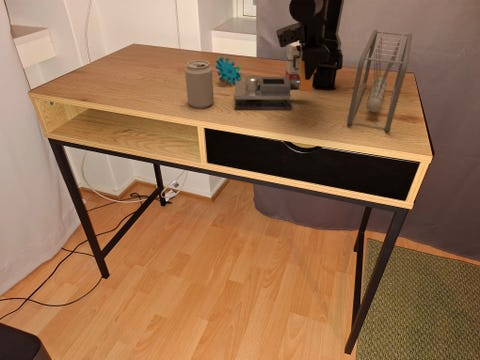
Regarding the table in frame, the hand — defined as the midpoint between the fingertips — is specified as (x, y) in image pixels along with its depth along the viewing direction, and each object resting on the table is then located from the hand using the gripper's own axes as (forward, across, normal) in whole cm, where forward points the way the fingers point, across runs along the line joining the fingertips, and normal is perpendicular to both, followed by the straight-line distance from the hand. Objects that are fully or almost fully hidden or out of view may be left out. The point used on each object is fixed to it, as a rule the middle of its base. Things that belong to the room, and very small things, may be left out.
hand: (306, 78), depth 93 cm
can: (+10, -6, -29) cm, 31 cm away
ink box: (+10, -26, +2) cm, 28 cm away
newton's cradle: (+10, -4, +21) cm, 24 cm away
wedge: (+3, 0, 0) cm, 3 cm away
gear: (+10, -24, -21) cm, 33 cm away
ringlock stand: (+10, -8, -8) cm, 15 cm away
